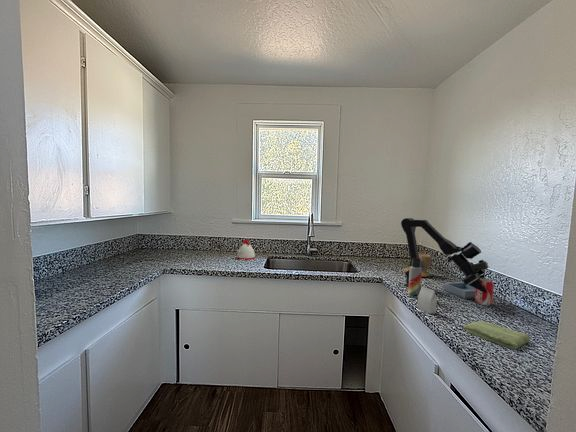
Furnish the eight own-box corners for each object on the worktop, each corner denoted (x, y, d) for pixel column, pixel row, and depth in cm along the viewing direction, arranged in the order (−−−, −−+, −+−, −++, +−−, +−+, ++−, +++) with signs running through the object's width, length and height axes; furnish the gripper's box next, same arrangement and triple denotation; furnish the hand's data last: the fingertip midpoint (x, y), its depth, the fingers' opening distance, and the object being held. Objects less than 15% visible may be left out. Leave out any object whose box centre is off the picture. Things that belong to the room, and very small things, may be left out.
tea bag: (430, 313, 128) (431, 291, 128) (417, 308, 134) (418, 286, 134) (435, 312, 130) (437, 290, 129) (423, 307, 136) (424, 286, 135)
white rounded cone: (248, 255, 240) (249, 237, 239) (258, 258, 230) (258, 240, 229) (233, 257, 232) (234, 239, 231) (243, 261, 221) (243, 241, 220)
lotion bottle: (413, 298, 147) (415, 259, 146) (405, 294, 153) (407, 257, 151) (422, 297, 149) (424, 258, 148) (414, 294, 154) (416, 256, 153)
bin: (464, 299, 148) (465, 291, 148) (443, 290, 162) (443, 283, 161) (486, 297, 152) (487, 289, 152) (463, 288, 165) (464, 282, 165)
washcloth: (478, 324, 120) (478, 316, 119) (531, 343, 105) (532, 334, 104) (460, 331, 113) (461, 323, 112) (515, 353, 98) (516, 343, 97)
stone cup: (434, 277, 189) (436, 254, 188) (420, 278, 185) (421, 255, 184) (416, 271, 203) (418, 250, 202) (403, 272, 199) (404, 250, 198)
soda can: (471, 301, 145) (473, 278, 144) (481, 300, 147) (483, 276, 146) (485, 307, 138) (487, 282, 137) (495, 305, 140) (497, 280, 140)
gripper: (472, 257, 137) (499, 286, 130) (481, 252, 150) (506, 278, 143) (452, 270, 143) (477, 298, 136) (463, 265, 156) (486, 290, 149)
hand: (487, 291), depth 141 cm, fingers closed on soda can, 7 cm apart
